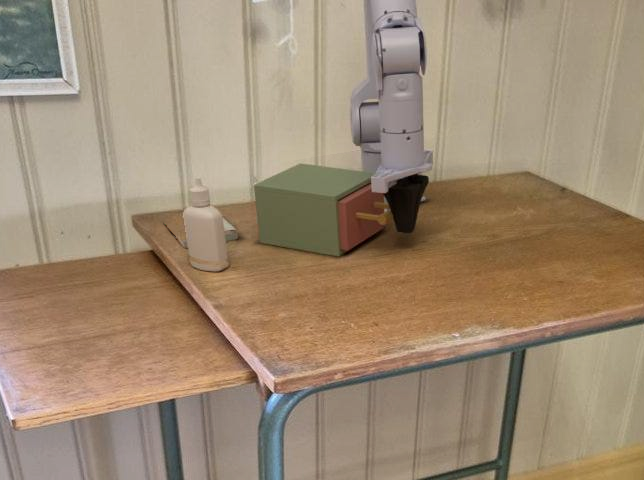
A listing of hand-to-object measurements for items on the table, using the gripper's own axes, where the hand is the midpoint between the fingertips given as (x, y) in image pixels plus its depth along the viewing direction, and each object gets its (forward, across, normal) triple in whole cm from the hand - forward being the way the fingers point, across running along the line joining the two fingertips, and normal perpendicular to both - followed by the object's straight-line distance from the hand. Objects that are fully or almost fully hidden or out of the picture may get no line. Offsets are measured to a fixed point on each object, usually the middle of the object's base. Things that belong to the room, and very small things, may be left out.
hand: (405, 231), depth 126 cm
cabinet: (+2, 0, +14) cm, 14 cm away
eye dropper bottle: (+2, -16, +22) cm, 28 cm away
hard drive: (+2, -5, +32) cm, 33 cm away
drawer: (+2, 0, +10) cm, 10 cm away
